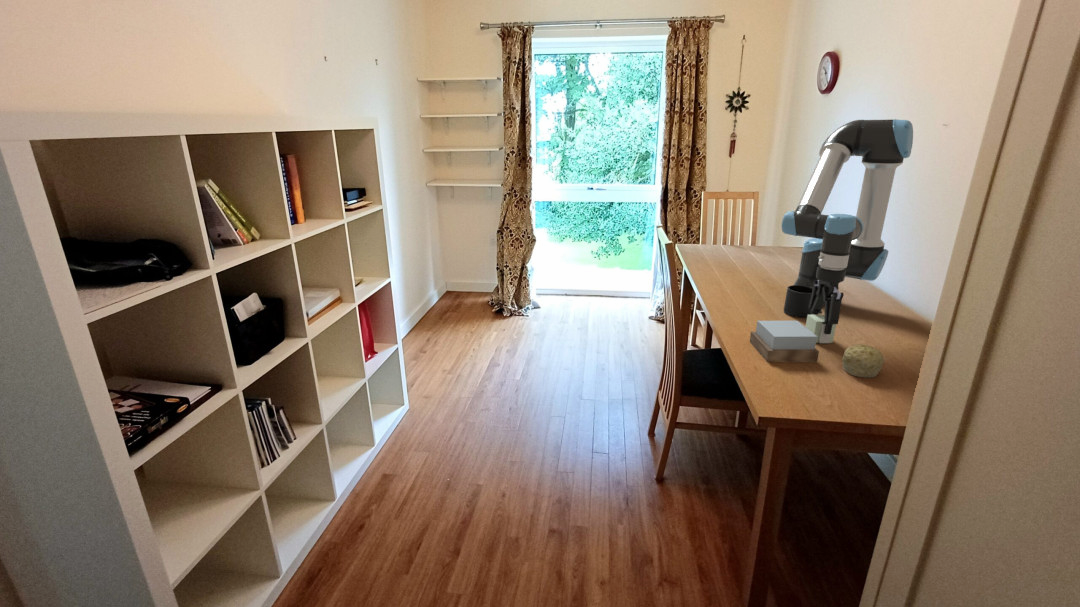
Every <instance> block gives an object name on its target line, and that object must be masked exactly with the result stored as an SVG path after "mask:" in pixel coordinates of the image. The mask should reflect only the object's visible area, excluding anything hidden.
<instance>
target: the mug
mask: <svg viewBox="0 0 1080 607" xmlns="http://www.w3.org/2000/svg"><path fill="white" fill-rule="evenodd" d="M812 290H813V288H811V287H808V286H801V285H794V284H793V285H788V286H787V289H786V292H785V293H786V294H785V300H784V307H783V313H784V314H786V315H787V316H790V317H795V318H801V319H803V318H804V319H805V318H806V319H807V315H812V313H811V310H809V308H808V307H809V303H810V299H811V294H812ZM812 306H813V305H812Z"/></svg>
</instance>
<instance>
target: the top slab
mask: <svg viewBox="0 0 1080 607" xmlns="http://www.w3.org/2000/svg"><path fill="white" fill-rule="evenodd" d="M805 326H806V325H803V324H802V323H801V321H798V320H757V321H756V327H755V328H756V329H755V332H756V334H757V335H758V336H759V337H760V338H761V339H762V340H763V341H764V342H765V343H766V344H767V345H768V346H769V347H770V348H771V349H772V350H805V349H815V348H816V345H817V343H816V340H817V336H816V335H815V334H813V333H812V332H811V331H810V330H808V329H807V328H806V327H805Z"/></svg>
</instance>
